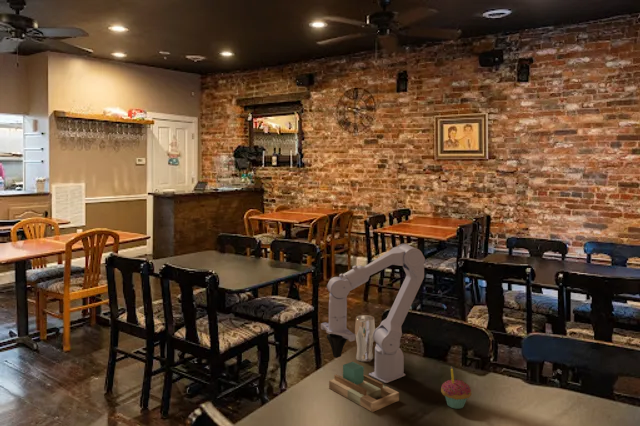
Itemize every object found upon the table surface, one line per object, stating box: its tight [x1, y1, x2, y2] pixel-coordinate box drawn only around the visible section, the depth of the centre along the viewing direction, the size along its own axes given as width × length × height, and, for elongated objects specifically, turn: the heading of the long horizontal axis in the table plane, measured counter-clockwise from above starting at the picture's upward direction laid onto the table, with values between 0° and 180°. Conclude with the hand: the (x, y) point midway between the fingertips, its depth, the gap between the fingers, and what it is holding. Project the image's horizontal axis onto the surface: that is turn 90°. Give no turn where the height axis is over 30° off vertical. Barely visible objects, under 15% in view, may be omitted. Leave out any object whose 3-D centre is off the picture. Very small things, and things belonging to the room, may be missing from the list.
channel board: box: [328, 374, 400, 413], centre depth 154 cm, size 11×19×4 cm, turn 39°
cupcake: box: [440, 366, 472, 410], centre depth 148 cm, size 9×8×12 cm
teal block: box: [342, 361, 365, 385], centre depth 158 cm, size 4×5×5 cm
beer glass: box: [354, 314, 376, 363], centre depth 181 cm, size 7×7×15 cm
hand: (337, 356), depth 163 cm, fingers closed
